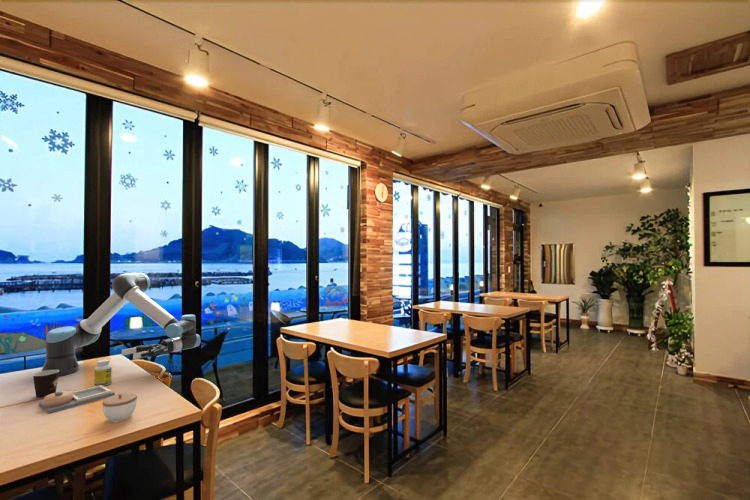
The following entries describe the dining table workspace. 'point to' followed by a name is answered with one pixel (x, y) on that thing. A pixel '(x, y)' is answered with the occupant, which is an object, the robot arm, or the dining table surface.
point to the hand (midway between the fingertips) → (127, 354)
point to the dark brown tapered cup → (45, 382)
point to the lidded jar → (119, 406)
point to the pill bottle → (103, 373)
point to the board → (74, 398)
